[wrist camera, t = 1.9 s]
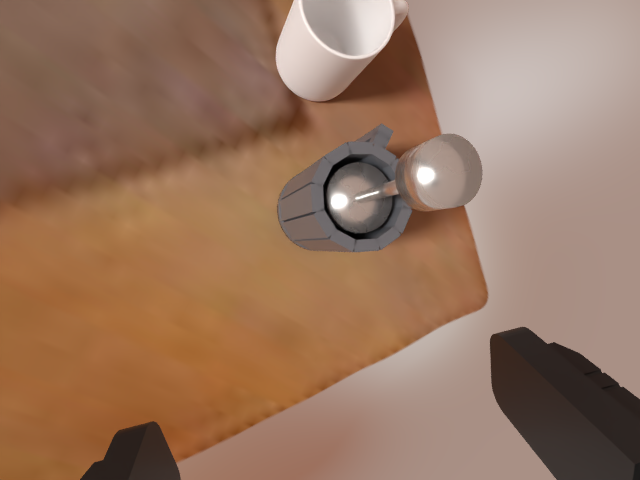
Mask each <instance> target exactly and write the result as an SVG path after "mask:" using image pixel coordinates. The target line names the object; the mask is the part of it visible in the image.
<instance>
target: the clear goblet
mask: <svg viewBox="0 0 640 480" xmlns="http://www.w3.org/2000/svg"><path fill="white" fill-rule="evenodd" d="M481 180H482V165H481V161H480V158H479V155H478V153H477V151H476V150H475V148H474V147H473V145H472V144H471V143H470V142H469V141H467V140H466V139H464V138H463V137H461V136H459V135H455V134H443V135H440V136H437V137H435V138H433V139H431V140H428V141H426V142H424V143H422V144H420V145H417V146H415V147H413V148H411V149H409V150H408V151H406V152H405V153H404V154H403V155H402V156H401V158H400V159H399V161H398V164H397V166H396V170H395V180H393V181H390V182H388V180H387V179H386V177H385V176H384V174H383V173H382V172H381V171H380V170H379V169H377V168H376V167H374V166H372V165H370V164H367V163H361V162H356V163H350V164H348V165H345V166H343V167H342V168H340V169H338V170H337V171H336V172H334V173H333V174H332V176H331V177H330V178H329V180H328V182H327V184H326V187H325V191H324V204H325V208H326V211H327V213H328V215H329V217H330V219H331V220H332V221H333V222H334V223H335V224H336V225H337V226H338V227H339V228H341V229H342V230H345V231H347V232H350V233H366V232H370V231H373V230H375V229H377V228H378V227H380V226H381V225H382V224H383V223H384V222H385V220H386V219H387V217H388V216H389V214H390V211H391V207H392V195H396V194H399V195H400V197H401V198H402V200H403V201H404V202H405V203H406V204H407V205H408V206H410V207H411V208H413V209H415V210H418V211H434V210H440V209H447V208H454V207H459V206H463V205H465V204H467V203H468V202H470V201H471V200H472V199H473V198H474V197H475V195H476V193H477V192H478V190H479V188H480V185H481Z"/></svg>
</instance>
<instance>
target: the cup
mask: <svg viewBox="0 0 640 480" xmlns="http://www.w3.org/2000/svg"><path fill="white" fill-rule="evenodd" d="M408 10H409V6H408V3H407V2H406V1H405V0H294V1H293V4H292V7H291V9H290V12H289V14H288V17H287V20H286V22H285V25H284V27H283V30H282V33H281V35H280V38H279V41H278V44H277V49H276V64H277V68H278V71H279V74H280V76H281V78H282V80H283V81H284V83H285V84H286V86H287V87H288V88H289V89H290V90H291V91H292V92H294V93H295V94H296V95H298V96H300V97H302V98H304V99H306V100H310V101H326V100H330V99H332V98H334V97H336V96H338V95H339V94H340V93H342V92H343V91H344V90H345V89H346V88H347V87H348V86H349V84H350V83H351V82H352V81H353V80H354V79H355V78H356V77H357V76H358V75H359V74H360V73H361V72H362V71H363V69H364V68H365V67H366V66H367V65H368V64H369V63H370V62H371V61H372V60H373V59H374V58H375V57H376V55H377V54H378V53H379V52H380V51H381V50H382V49H383V48H384V47H385V46H386V44H387V43H388V41H389V40H390V38H391V35H392V33H393V32H394V31H395V30H396V29H397V28H398V26H399V25H400V24H401V23H402V22H403V20H404V19H405V17H406V16H407V14H408Z"/></svg>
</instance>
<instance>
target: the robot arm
mask: <svg viewBox="0 0 640 480" xmlns="http://www.w3.org/2000/svg"><path fill="white" fill-rule="evenodd" d="M490 353H491V379H492V389H493V393H494V396H495V399H496V401H497V403H498V405H499V407H500V408H501V410H502V411H503V413H504V414H505V415H506V416H507V418H508V419H509V420H510V422H511V423H512V424H513V425H514V427H515V428H516V429H517V430H518V432H519V433H520V434H521V435H522V437H523V438H524V439H525V440H526V442H527V443H528V444H529V445H530V447H531V448H532V449H533V450H534V452H535V453H536V454H537V455H538V457H539V458H540V459H541V460H542V462H543V463H544V464H545V465H546V467H547V468H548V469H549V470H550V472H551V473H552V474H553V476H554V477H555V478H556V479H557V480H640V399H638V398H637V397H636V396H634V395H633V394H632V393H631V392H629V391H628V390H627V389H625V388H624V387H620V386H619V384H618V382H616V381H615V380H614V379H612V378H611V377H610V376H608V375H607V374H606V373H602V372H601V369H599V368H598V367H596V366H595V365H594V364H593V363H592V362H590V361H589V360H588V359H586V358H585V357H584V356H582V355H581V354H580V353H578V352H575V351H573V350H571V349H568V348H566V347H564V346H561V345H559V344H557V343H555V342H553V343H550V344H547V343H545V342H544V341H543V340H542V339H541V338H539V337H538V336H537V335H536V334H534V333H533V332H532V331H531V330H529V329H528V328H526V327H520V328H516V329H512V330H508V331H504V332H500V333H497V334H493V335H492V336H491V339H490ZM80 480H180V473H179V470H178V467H177V465H176V462H175V460H174V458H173V456H172V453H171V451H170V449H169V447H168V444H167V442H166V440H165V438H164V435H163V433H162V431H161V429H160V427H159V425H158V424H157V423H156V422H149V423H145V424H141V425H137V426H133V427H130V428H126V429H122V430H119V431H118V432H117V433H116V434H115V435H114V437H113V439H112V442H111V444H110V446H109V448H108V451H107V453H106V455H105V457H104V460H102V461H98V462H94V463H93V465H92V466H91V467H90V468H89V469H88V471H87V472H86V473H85V474H84V475H83V477H82V478H81V479H80Z"/></svg>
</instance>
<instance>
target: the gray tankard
mask: <svg viewBox="0 0 640 480" xmlns="http://www.w3.org/2000/svg"><path fill="white" fill-rule="evenodd" d="M392 133H393V131H392V130H391V129H389V128H388V127H386V126H385V125H383V124H380V125H379V126H377V127H376V128H374V129H373V130H371V131H370V132H368V133H367V134H365V135H364V136H362V137H361V138H359V139H358V140H356V141H355V142H347V143H344V144H343V145H341V146H339V147H338V148H336V149H335V150H333V151H331V152H330V153H328V154H326V155H325V156H323V157H322V158H321V159H319V160H318V161H316V162H315V163H314V164H312V165H311V166H310V167H308V168H307V169H305V170H304V171H303V172H301V173H300V174H298V175H296V176H295V177H294V178H292V179H291V180H290V181H289V182H288V183H287V184H286V185H285V187H284V188H283V190H282V192H281V194H280V197H279V200H278V206H277V213H278V219H279V223H280V225H281V228H282V230H283V231H284V233H285V234H286V236H287V237H288V238H289V239H290V240H291V241H292V242H293V243H295V244H296V245H298V246H299V247H302V248H304V249H307V250H313V251H338V252H364V251H378V250H382V249H383V248H384V247H386V246H387V245H388V244H390V243H391V242H392V241H394V240H395V239H397V238H398V237H399V236H401V233H403V231H404V229H405V226H406V224H407V222H408V220H409V217H410V215H411V213H412V210H411V207H410V206H408V205H407V204H406V203H405V202H404V201H403V200H402V198H401V197H400V195H399V194H396V195H392V207H391V211H390V214H389V216H388V217H387V219H386V220H385V222H384V223H383V224H382V225H381V226H380V227H378V228H377V229H375V230H373V231H370V232H366V233H350V232H347V231H345V230H342V229H341V228H339V227H338V226H337V225H336V224H335V223H334V222H333V221H332V220H331V219H330V217H329V215H328V213H327V211H326V208H325V204H324V191H325V187H326V184H327V182H328V180H329V178H330V177H331V176H332V174H333V173H334V172H336V171H337V170H338V169H340V168H342V167H343V166H345V165H348V164H350V163H356V162H361V163H367V164H370V165H372V166H374V167H376V168H377V169H379V170H380V171H381V172H382V173H383V174H384V176H385V177H386V179H387V180H388V182H390V181H393V180H395V170H396V166H397V164H398V161H399V159H398V158H397V159H395V158H396V156H395V155H393V154H392V153H390V152H389V151H387V150H386V149H385V148H386V146H387V144H388V142H389V140H390V138H391V135H392Z"/></svg>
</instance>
